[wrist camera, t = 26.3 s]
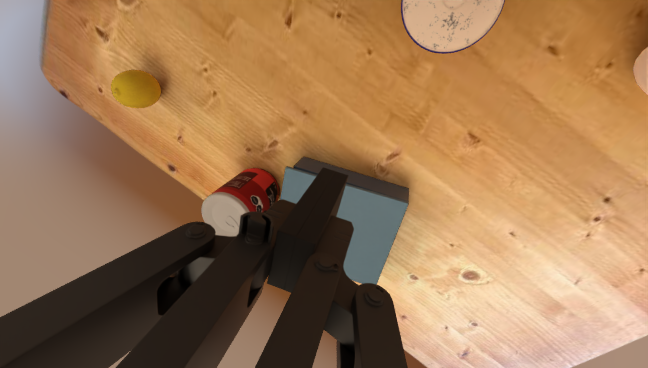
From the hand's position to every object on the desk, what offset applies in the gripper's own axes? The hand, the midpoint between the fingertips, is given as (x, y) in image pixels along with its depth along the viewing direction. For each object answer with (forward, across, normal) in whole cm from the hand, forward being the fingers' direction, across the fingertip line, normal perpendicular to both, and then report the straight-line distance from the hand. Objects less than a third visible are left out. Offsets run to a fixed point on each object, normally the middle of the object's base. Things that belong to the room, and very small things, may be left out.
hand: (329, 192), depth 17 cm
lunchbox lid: (+23, -1, -18) cm, 29 cm away
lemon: (+28, -36, -7) cm, 46 cm away
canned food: (+28, -15, -19) cm, 37 cm away
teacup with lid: (+28, +3, +13) cm, 31 cm away
